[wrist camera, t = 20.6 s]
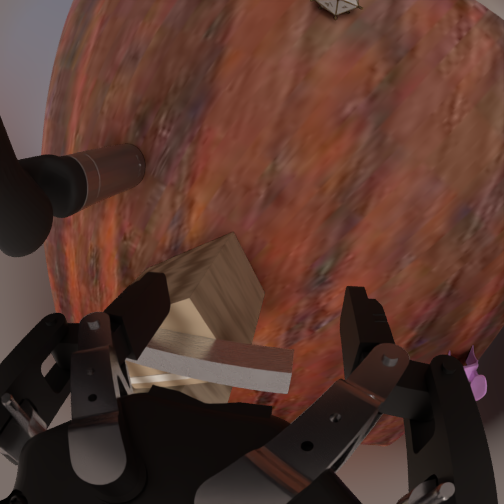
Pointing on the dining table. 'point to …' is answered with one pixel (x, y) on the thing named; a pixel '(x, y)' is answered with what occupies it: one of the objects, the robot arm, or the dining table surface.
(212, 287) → the stand
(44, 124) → the dining table surface
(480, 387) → the toy chair
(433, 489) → the robot arm
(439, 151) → the dining table surface
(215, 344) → the bar
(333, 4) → the game die
